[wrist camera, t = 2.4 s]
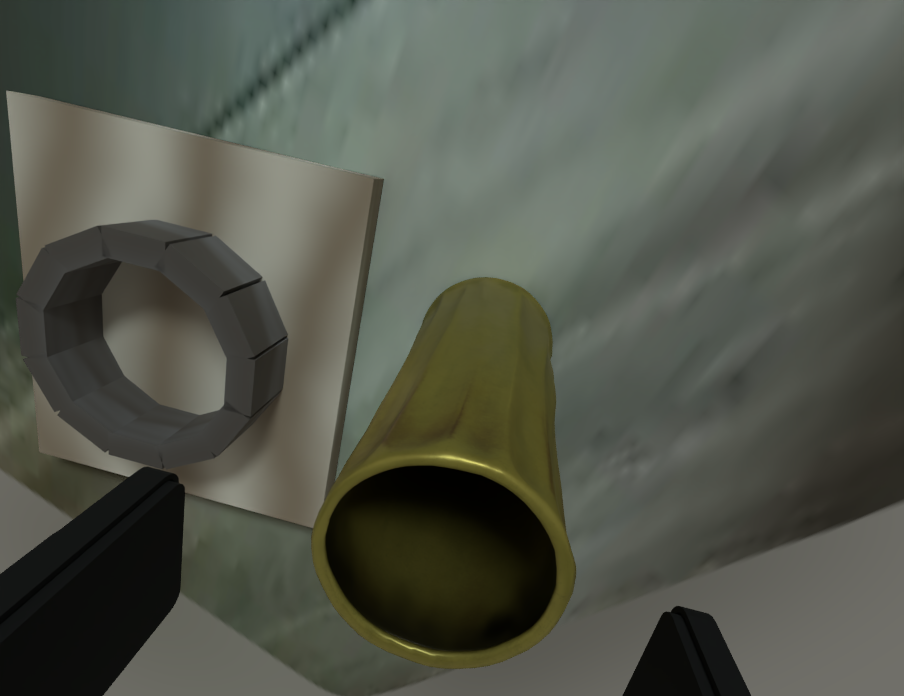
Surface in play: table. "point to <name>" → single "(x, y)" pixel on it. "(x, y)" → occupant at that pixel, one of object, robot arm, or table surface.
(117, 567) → the robot arm
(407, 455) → the vase
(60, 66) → the table surface
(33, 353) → the plate
